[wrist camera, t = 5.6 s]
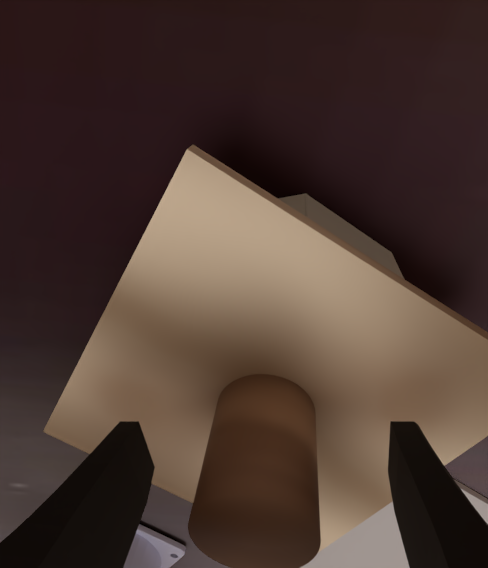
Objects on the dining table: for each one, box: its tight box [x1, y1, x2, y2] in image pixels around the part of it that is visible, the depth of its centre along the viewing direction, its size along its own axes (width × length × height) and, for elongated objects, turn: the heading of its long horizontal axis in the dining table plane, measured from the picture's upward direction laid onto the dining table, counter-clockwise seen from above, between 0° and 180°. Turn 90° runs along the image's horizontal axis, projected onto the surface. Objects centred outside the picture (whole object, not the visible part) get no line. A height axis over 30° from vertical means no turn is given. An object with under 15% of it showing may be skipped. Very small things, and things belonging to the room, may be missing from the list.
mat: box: [300, 480, 488, 568], centre depth 25 cm, size 14×14×1 cm
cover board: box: [43, 145, 488, 568], centre depth 12 cm, size 12×12×5 cm
